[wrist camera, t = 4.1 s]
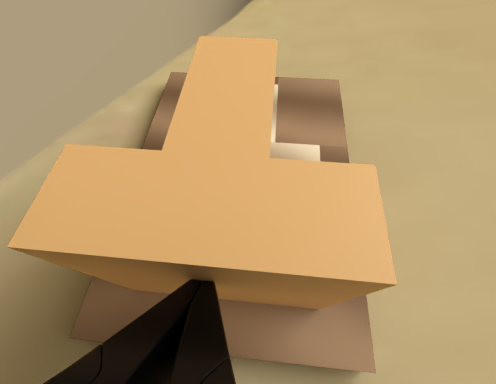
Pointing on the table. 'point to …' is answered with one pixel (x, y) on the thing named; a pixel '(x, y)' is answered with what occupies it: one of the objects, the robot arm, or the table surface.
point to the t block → (216, 201)
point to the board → (247, 313)
